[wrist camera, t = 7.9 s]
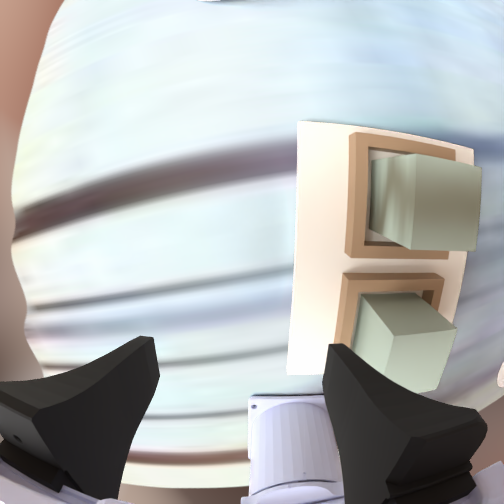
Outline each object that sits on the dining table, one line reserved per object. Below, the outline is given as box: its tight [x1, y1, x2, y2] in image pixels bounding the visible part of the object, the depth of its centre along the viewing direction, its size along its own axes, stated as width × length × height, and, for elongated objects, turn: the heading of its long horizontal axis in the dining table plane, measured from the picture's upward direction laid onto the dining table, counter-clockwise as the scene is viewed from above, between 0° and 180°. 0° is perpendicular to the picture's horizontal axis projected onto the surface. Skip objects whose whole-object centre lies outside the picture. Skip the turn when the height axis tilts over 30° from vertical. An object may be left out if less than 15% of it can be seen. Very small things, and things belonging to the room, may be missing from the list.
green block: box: [369, 154, 482, 252], centre depth 15 cm, size 4×4×6 cm
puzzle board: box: [287, 121, 474, 393], centre depth 16 cm, size 18×14×7 cm
